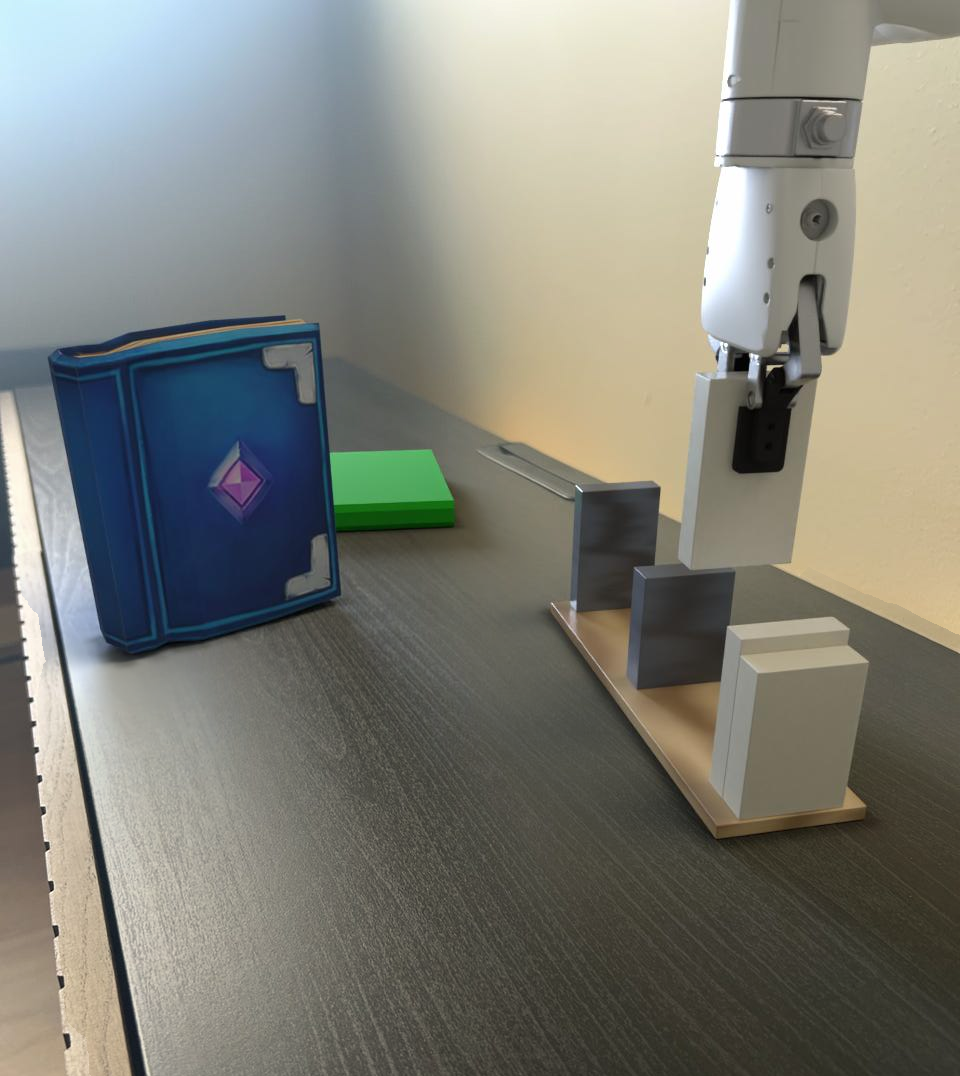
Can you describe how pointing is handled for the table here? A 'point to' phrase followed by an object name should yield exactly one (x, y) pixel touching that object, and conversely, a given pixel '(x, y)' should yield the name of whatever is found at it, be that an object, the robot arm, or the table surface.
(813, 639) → the white books
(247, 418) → the book
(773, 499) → the white book
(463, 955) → the table surface
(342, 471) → the green flat slab
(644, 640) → the book rack
